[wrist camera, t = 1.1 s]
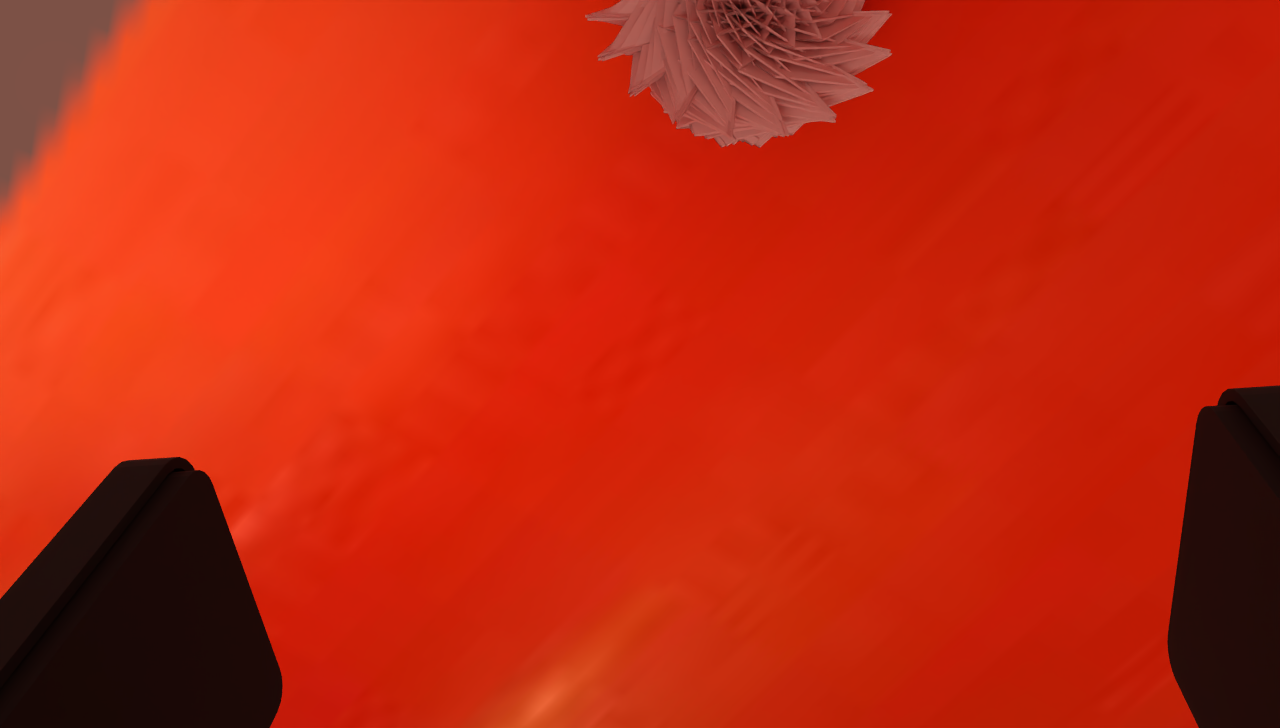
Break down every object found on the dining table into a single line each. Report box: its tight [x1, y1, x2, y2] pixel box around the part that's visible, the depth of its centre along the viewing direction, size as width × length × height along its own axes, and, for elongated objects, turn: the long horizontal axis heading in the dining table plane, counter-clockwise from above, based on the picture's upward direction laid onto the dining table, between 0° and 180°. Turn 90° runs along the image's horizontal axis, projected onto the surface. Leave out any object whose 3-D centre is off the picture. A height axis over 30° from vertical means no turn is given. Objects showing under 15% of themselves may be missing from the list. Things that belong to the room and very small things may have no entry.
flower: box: [585, 0, 892, 148], centre depth 29 cm, size 8×8×6 cm
